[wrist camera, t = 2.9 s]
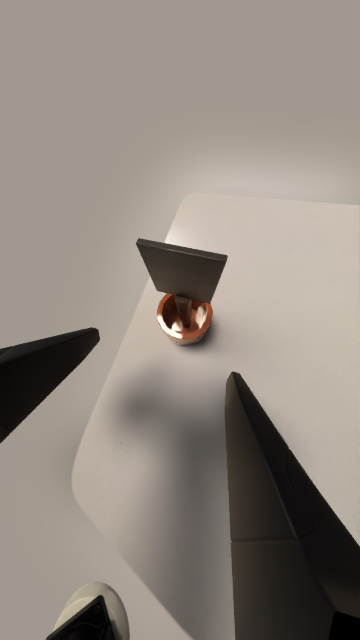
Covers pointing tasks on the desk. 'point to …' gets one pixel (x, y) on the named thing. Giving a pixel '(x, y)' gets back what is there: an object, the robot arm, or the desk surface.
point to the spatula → (182, 273)
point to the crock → (171, 321)
